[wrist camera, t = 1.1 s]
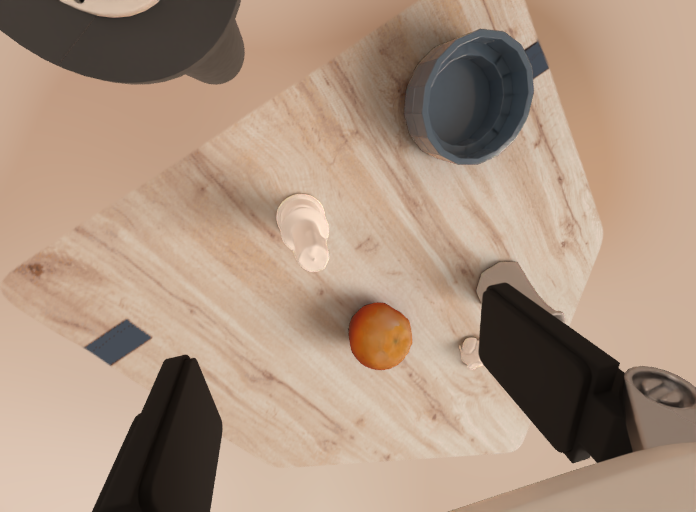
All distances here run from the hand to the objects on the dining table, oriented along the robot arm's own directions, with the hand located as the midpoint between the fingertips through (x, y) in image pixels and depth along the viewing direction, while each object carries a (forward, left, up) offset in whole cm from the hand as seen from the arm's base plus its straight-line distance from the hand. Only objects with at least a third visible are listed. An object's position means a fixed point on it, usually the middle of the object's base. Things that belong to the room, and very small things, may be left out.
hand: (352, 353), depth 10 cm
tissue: (+38, +1, -27) cm, 46 cm away
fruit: (+20, -6, -27) cm, 34 cm away
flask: (+30, +10, -27) cm, 41 cm away
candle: (+3, -2, -27) cm, 27 cm away
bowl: (+6, +18, -27) cm, 33 cm away
